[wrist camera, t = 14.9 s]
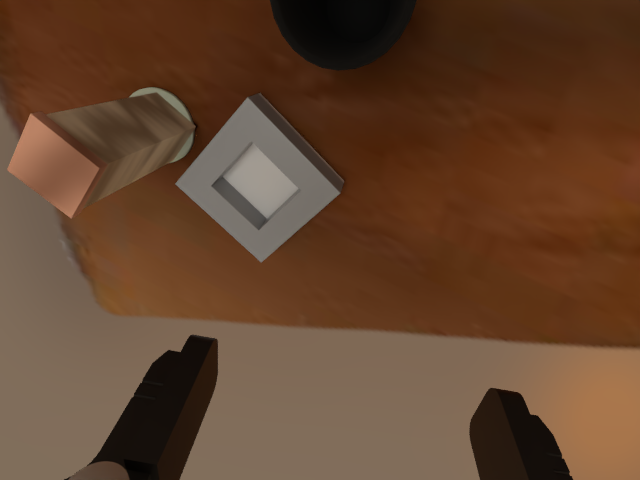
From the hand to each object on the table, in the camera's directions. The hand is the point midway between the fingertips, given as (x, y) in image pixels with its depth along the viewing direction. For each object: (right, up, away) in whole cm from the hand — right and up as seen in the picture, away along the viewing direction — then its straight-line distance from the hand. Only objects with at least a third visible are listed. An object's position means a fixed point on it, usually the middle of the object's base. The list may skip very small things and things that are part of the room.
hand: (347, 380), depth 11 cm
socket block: (-6, +10, +26) cm, 29 cm away
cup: (+2, +22, +19) cm, 29 cm away
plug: (-16, +15, +25) cm, 33 cm away
